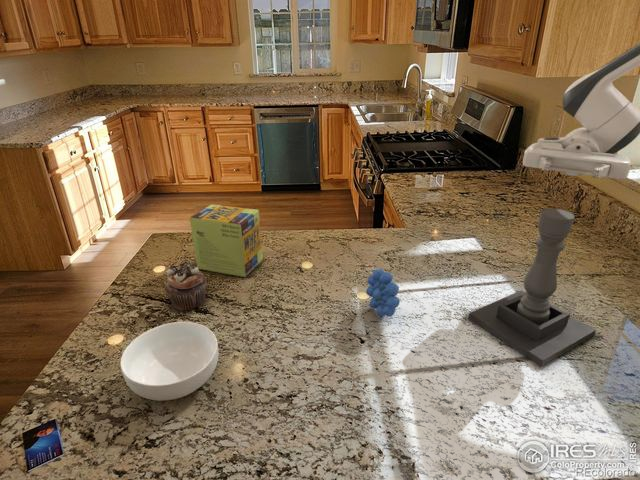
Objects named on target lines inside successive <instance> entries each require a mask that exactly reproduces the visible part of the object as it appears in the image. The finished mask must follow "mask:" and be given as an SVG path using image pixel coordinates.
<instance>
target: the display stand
mask: <svg viewBox="0 0 640 480" xmlns="http://www.w3.org/2000/svg"><path fill="white" fill-rule="evenodd" d="M525 295H526V291H524V290H522V289H521V290H518V291H516V292H514V293H512V294H509V295H507V296H505V297H502V298H500V299H497V300H496V301H494V302H491V303H488V304H487V305H484V306H482V307H479V308H478V309H475V310H473V311H471V312H469V313H468V319H469V320H470V321H471V322H473V323H475V324H476V325H477V326H479V327H481V328H482V329H484V330H485V331H487V332H488V333H490V334H491V335H493V336H494V337H496V338H497V339H499V340H500V341H502V342H503V343H505V344H507V345H508V346H509V347H510V348H512V349H514V350H516V351H517V352H519V353H520V354H522V355H523V356H525V357H526V358H528V360H530V361H532V362H534V363H535V364H537V365H538V366H540V367H543V366H545V365H546V364H548V363H550V362H552V361H553V360H555V359H557V358H558V357H560V356H562V355H563V354H565V353H567V352H568V351H571V350H572V349H574V348H576V347H577V346H580V345H581V344H582V343H584V342H586V341H588V340H590V339H591V338H593V337H594V336H595V335H596V333H597V329H596V328H593V327H592V326H590V325H587V324H586V323H585V322H583V321H580V320H579V319H576V318H575V317H572V316H571V314H570V313H568V312H567V311H565V310H563V309H561V308H559V307H557V306H555V305H553V304H551V303H550V308H549V311H550V315H549V318H548V321H547V322H545V323H543V324H541V325H537V324H535V323H534V322H532V321H530V320H528V319H527V318H525V317H523V316H521V315H520V314H518V313H516V312H517V307H518V304H519V303H520V302H521V298H522V297H523V296H525Z"/></svg>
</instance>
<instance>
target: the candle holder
mask: <svg viewBox="0 0 640 480" xmlns="http://www.w3.org/2000/svg"><path fill="white" fill-rule="evenodd" d="M574 220H575V215H574V213H572V212H570V211H567V210H564V209H560V208H545V209H541V211H540V215H539V218H538V223H537V228H538V234H539V237H537V238H536V239H535V245H536V246H537V249H536V255H535V257H534V258H535V259H534V260H533V263H532V264H531V266H530V267H529V270H528V272H527V273H526V275H525V276H524V279H523V288H524V290H525V293H526V295H525V296H523V297H522V298H521V302H520V303H519V304H518V307H517V312H516V313H518V314H520V315H521V316H523V317H525V318H527V319H528V320H530V321H532V322H534V323H535V324H537V325H541V324H543V323H545V322H547V321H548V318H549V315H550V311H549V308H550V304H551V303H550V302H549V299H550V297H551V296H553V295H554V293H555V292H556V290H557V288H558V279H557V274H558V273H557V263H558V259H559V255H560V253H561V251H563V250H564V249H565V248H566V244H565V242H564V241H565V239H566V238H567V237H568V236H569V234H571V231H572V228H573V225H574Z"/></svg>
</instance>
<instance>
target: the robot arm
mask: <svg viewBox="0 0 640 480" xmlns="http://www.w3.org/2000/svg"><path fill="white" fill-rule="evenodd" d="M638 67H640V42H639V43H637V44H636V45H634V46H632V47H631V48H629V49H627V50H626V51H625V52H623V53H621V54H620V55H618V56H617V57H615V58H613V59H612V60H610V61H609V62H607V63H605V64H604V65H602V66H601V67H599V68H597V69H595V70H594V71H592V72H590V73H587V74H585V75H584V76H581V77H580V78H578V79H576V80H575V81H573V82H572V83H571V85H568V87H567V88H566V90H565V91H564V92H563V94H562V110H563V111H565V112H566V113H567V114H568V115H569V116H571V117H572V118H574V119H575V120H577V122H579V123H580V125H582V127H578V128H575V129H573V130H571V131H570V132H568V133H567V134H566V135H565V136H560V137H540V138H538V139H537V142H534V143H532V144H530V145H529V146H528V147H527V148H526V149H525V151H524V154H523V158H522V166H524V167H527V168H533V169H534V168H535V169H541V171H543V172H550V171H556V172H560V173H562V174H565V175H567V176H572V177H577V176H578V177H579V176H583V175H587V176H592V178H597V179H602V178H610V179H617V180H624V179H627V178H628V176H629V173H630V170H631V167H632V161H631V159H629V157H627V156H626V155H623V154H617V153H618V152H620V151H621V150H623V149H625V148H626V147H627V146H629V145H630V144H632V143H633V141H634V140H636V139H637V137H638V136H639V135H640V109H639V108H638V107H637V106H636V105H635V104H634V103H632V101H629V99H628V98H627V97H626V96H625V95H624V94H623V93H621V92H620V91H619V90H618V89H617V88H616V87H615V86H614V84H613V82H614V81H616V80H618V79H619V78H621V77H622V76H624V75H626V74H629V72H631V71H633V70H634V69H637V68H638Z"/></svg>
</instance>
